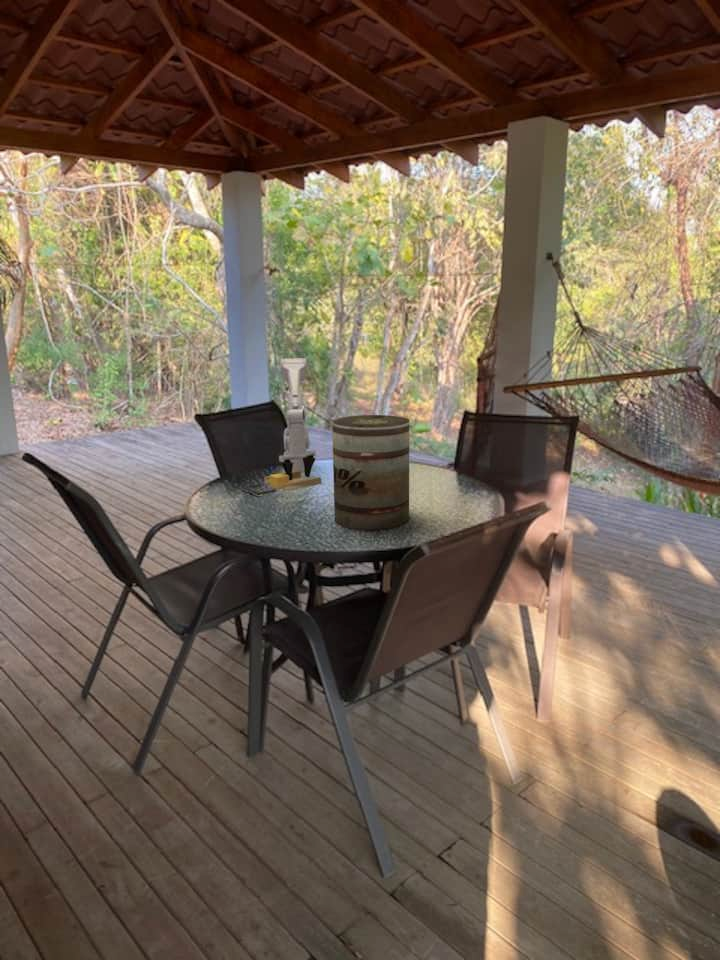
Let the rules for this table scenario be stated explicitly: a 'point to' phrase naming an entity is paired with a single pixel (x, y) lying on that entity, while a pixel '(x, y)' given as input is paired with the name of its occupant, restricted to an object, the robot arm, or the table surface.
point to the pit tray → (256, 491)
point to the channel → (297, 481)
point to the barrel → (371, 472)
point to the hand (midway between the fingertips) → (298, 478)
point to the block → (279, 480)
